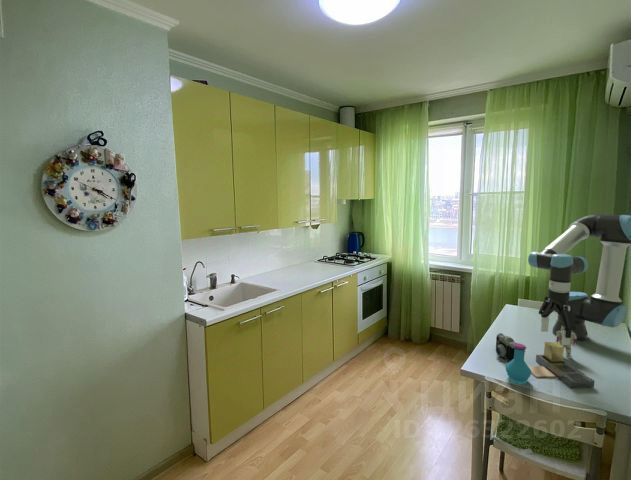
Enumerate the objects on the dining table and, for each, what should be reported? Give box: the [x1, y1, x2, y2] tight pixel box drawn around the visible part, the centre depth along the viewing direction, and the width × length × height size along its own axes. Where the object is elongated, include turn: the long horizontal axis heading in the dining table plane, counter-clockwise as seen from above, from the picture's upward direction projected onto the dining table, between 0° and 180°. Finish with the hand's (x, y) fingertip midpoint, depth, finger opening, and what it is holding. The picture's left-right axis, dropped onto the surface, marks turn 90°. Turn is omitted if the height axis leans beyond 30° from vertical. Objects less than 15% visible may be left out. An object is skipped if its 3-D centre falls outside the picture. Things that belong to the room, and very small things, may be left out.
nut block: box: [543, 341, 565, 363], centre depth 153 cm, size 5×5×10 cm
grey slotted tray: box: [535, 354, 595, 389], centre depth 147 cm, size 9×22×3 cm, turn 0°
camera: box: [495, 332, 517, 362], centre depth 162 cm, size 15×7×10 cm, turn 3°
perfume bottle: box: [505, 342, 532, 385], centre depth 142 cm, size 9×9×15 cm
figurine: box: [555, 326, 578, 359], centre depth 160 cm, size 8×8×15 cm
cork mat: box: [528, 365, 557, 379], centre depth 148 cm, size 8×8×1 cm
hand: (554, 337), depth 152 cm, fingers open, 13 cm apart
